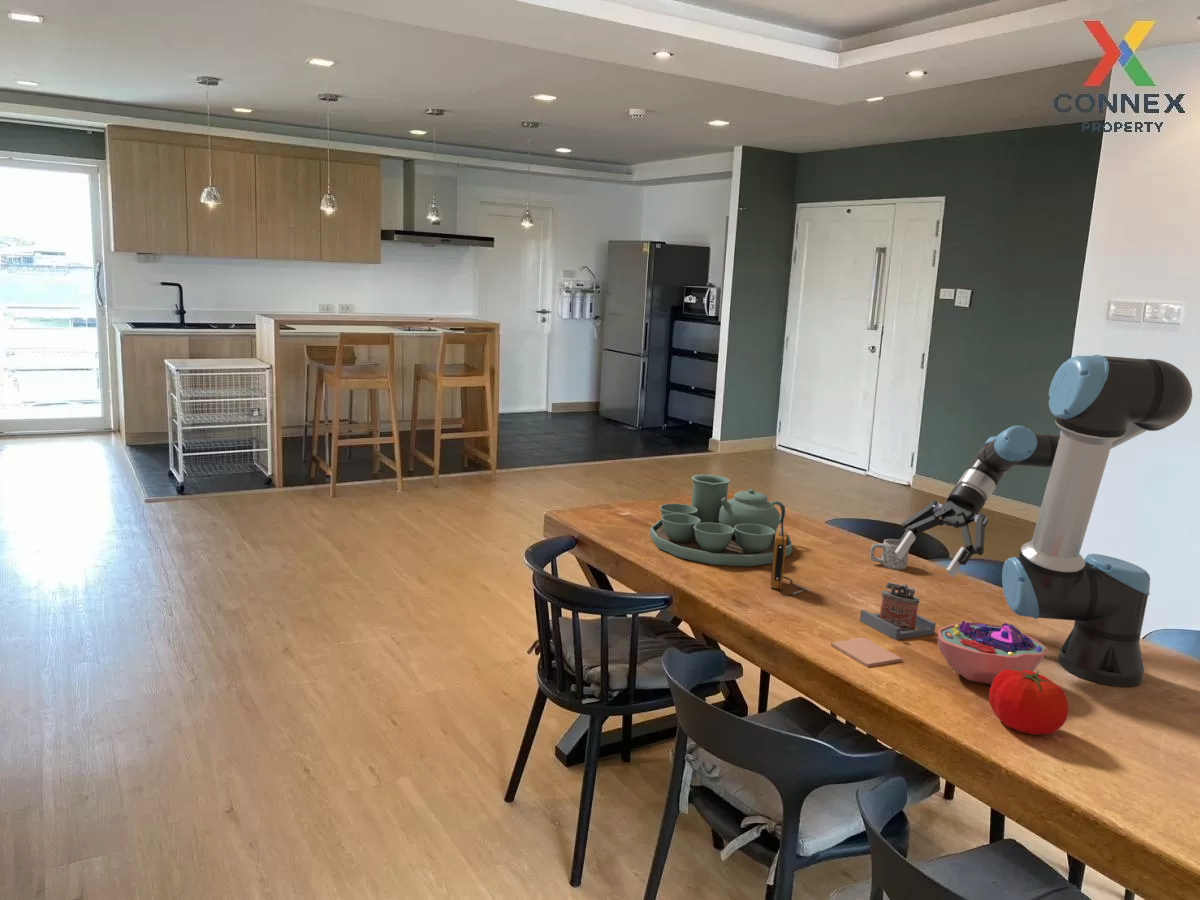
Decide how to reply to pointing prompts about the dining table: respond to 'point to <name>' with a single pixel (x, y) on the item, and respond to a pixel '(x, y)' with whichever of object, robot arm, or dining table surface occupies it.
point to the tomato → (1028, 702)
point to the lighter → (899, 606)
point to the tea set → (720, 526)
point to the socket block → (893, 631)
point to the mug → (890, 555)
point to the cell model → (988, 650)
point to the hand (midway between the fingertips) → (923, 564)
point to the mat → (866, 652)
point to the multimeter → (780, 559)
